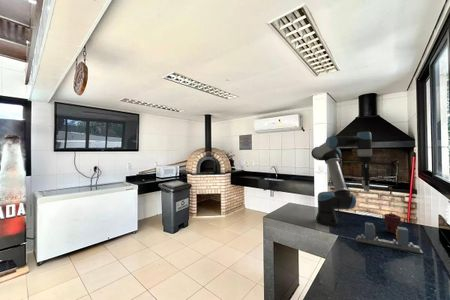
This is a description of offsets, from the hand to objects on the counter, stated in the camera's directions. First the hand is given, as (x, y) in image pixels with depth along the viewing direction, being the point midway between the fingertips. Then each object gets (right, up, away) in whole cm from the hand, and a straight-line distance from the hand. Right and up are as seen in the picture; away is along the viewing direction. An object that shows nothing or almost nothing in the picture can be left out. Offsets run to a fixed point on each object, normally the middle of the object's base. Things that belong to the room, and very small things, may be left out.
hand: (365, 188), depth 123 cm
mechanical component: (+24, -31, +7) cm, 40 cm away
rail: (+5, -32, -10) cm, 33 cm away
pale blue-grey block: (+12, -29, -14) cm, 34 cm away
